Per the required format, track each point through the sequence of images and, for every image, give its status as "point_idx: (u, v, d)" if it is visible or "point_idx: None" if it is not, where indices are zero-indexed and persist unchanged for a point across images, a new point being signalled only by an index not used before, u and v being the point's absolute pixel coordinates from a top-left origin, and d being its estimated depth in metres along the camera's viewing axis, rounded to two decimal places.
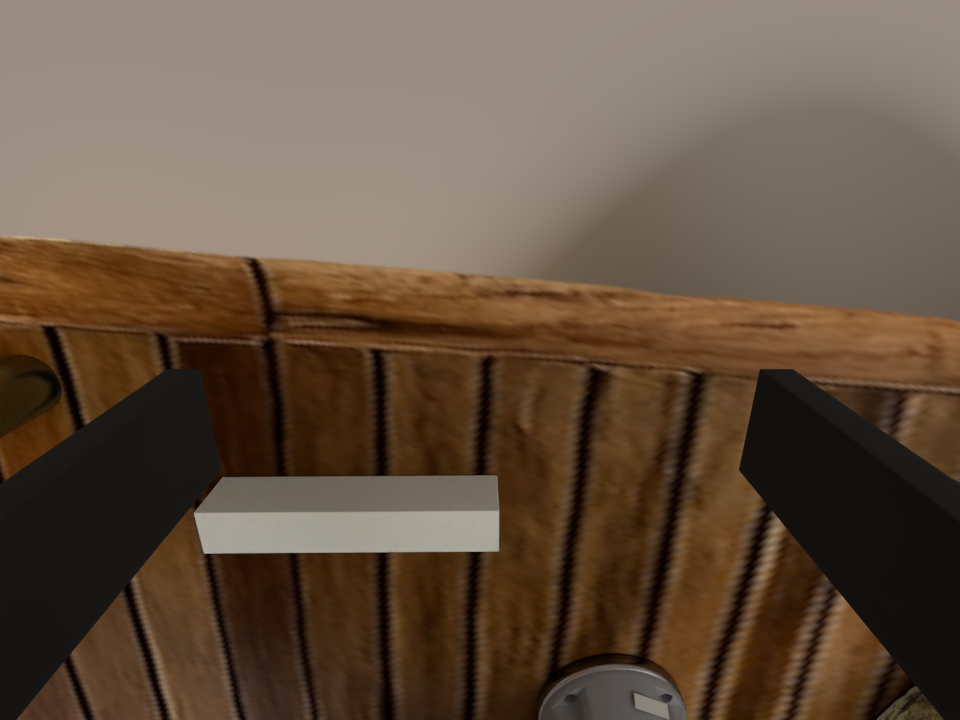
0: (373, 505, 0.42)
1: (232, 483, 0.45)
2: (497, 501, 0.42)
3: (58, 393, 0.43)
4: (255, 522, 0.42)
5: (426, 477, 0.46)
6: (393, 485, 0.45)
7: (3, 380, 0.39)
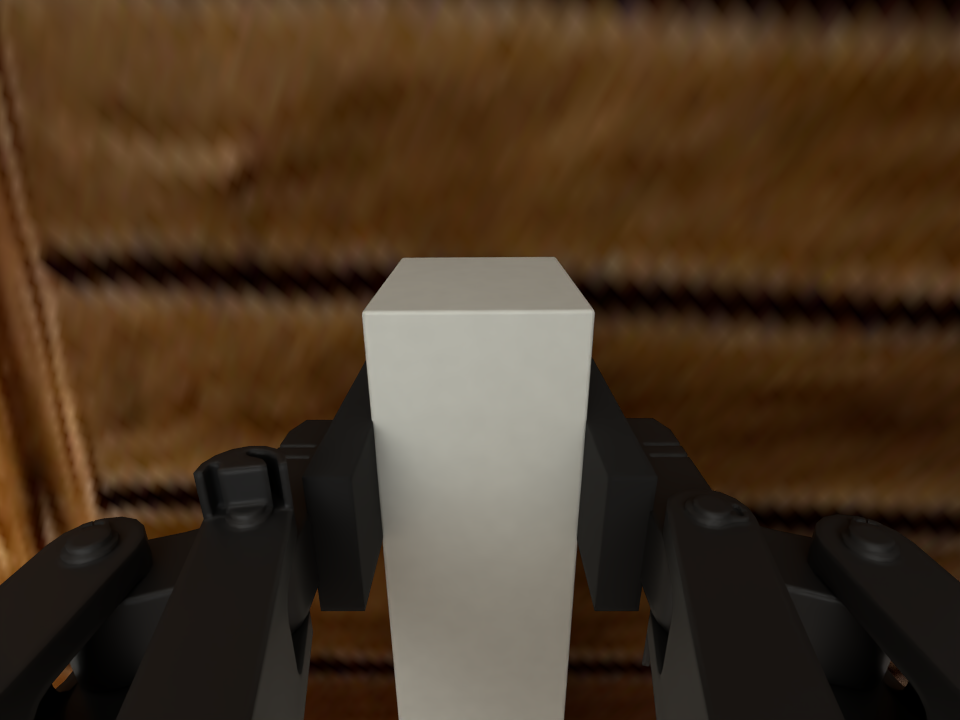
0: None
1: None
2: None
3: None
4: None
5: None
6: None
7: None
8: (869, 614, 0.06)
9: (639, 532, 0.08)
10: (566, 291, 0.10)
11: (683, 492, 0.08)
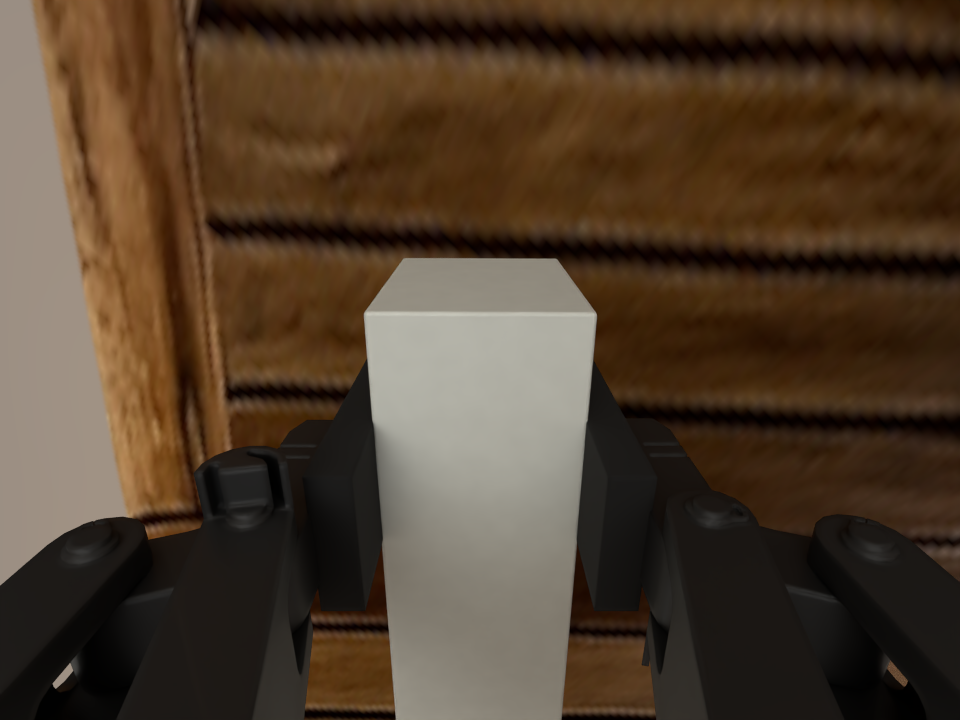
0: None
1: None
2: None
3: None
4: None
5: None
6: None
7: None
8: (869, 614, 0.06)
9: (639, 532, 0.08)
10: (568, 293, 0.10)
11: (683, 492, 0.08)
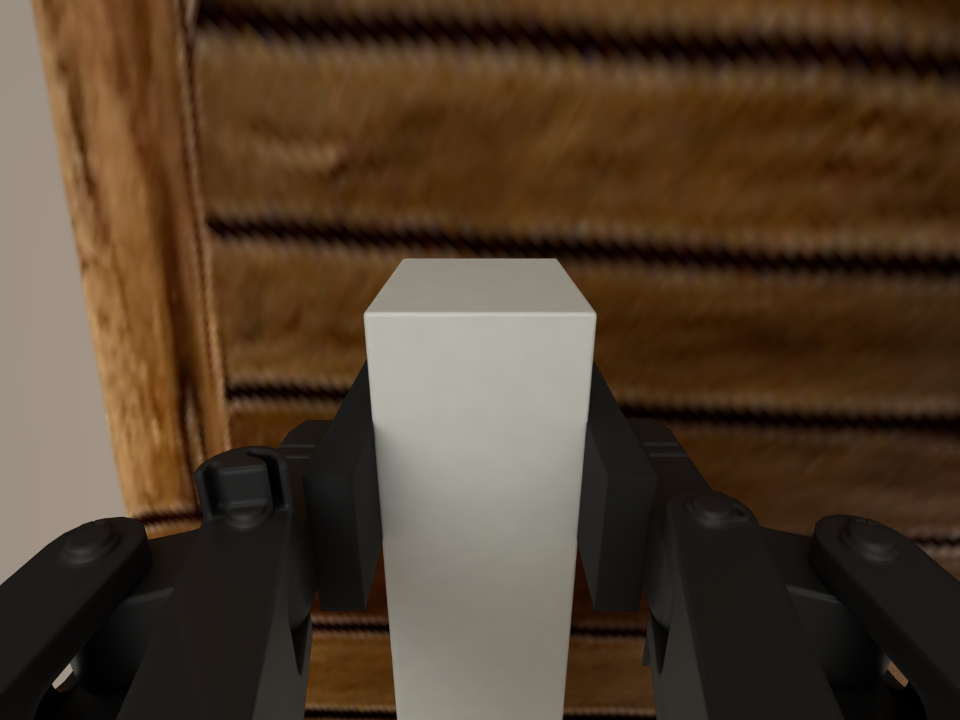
0: None
1: None
2: None
3: None
4: None
5: None
6: None
7: None
8: (869, 614, 0.06)
9: (639, 532, 0.08)
10: (568, 293, 0.10)
11: (683, 492, 0.08)
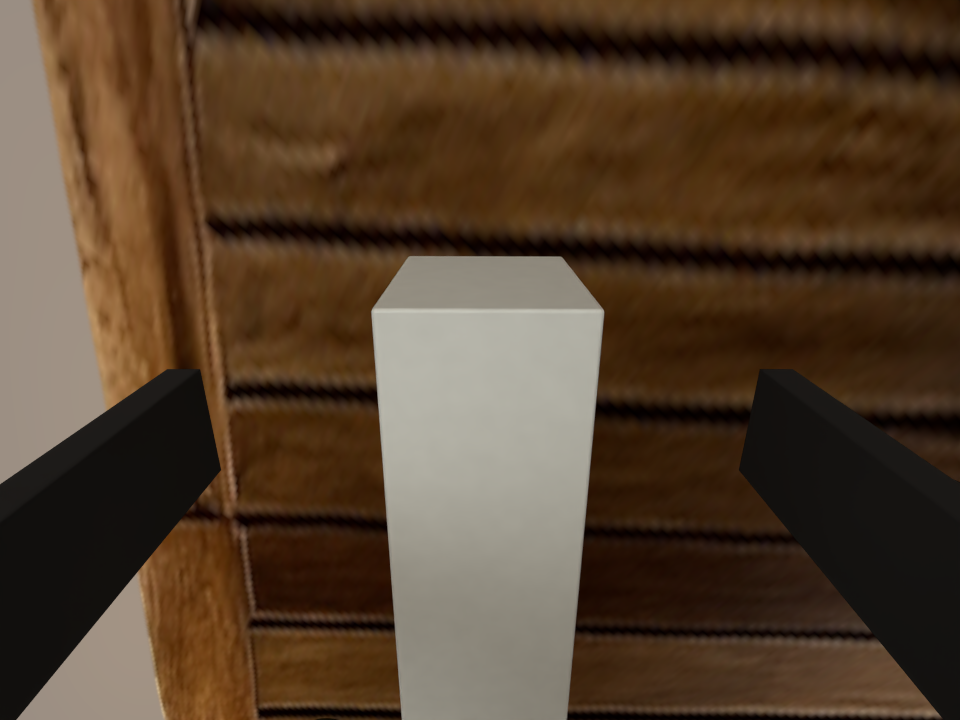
0: None
1: None
2: None
3: None
4: None
5: None
6: None
7: None
8: None
9: None
10: (575, 291, 0.10)
11: None
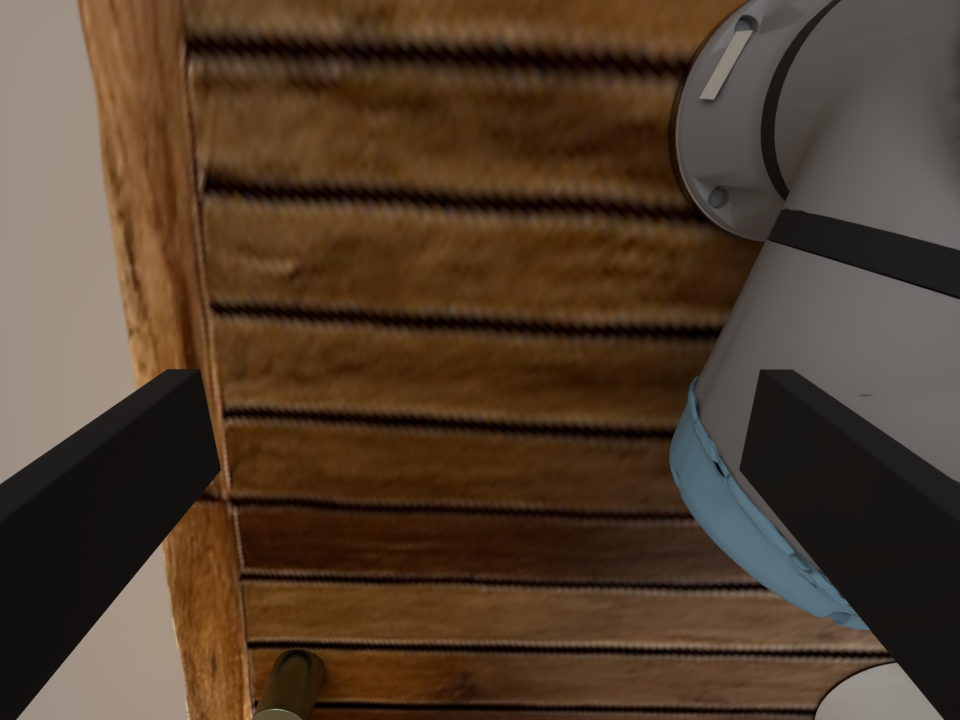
0: None
1: None
2: None
3: (303, 653, 0.52)
4: None
5: None
6: None
7: (264, 691, 0.49)
8: None
9: None
10: None
11: None
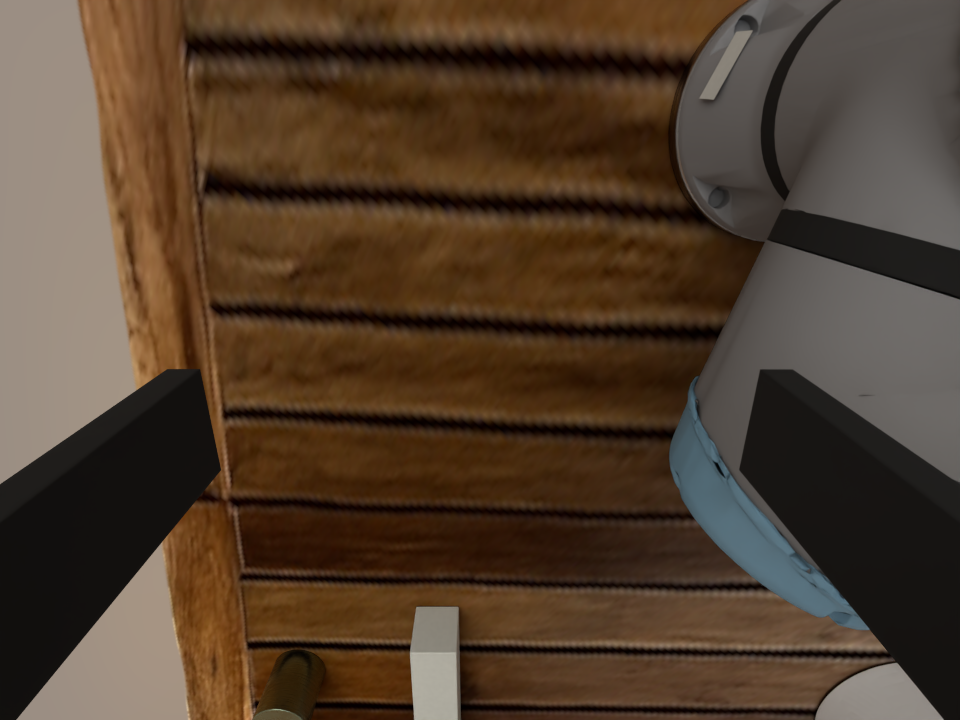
0: None
1: None
2: None
3: (303, 653, 0.52)
4: None
5: None
6: None
7: (265, 691, 0.49)
8: None
9: None
10: (453, 639, 0.46)
11: None
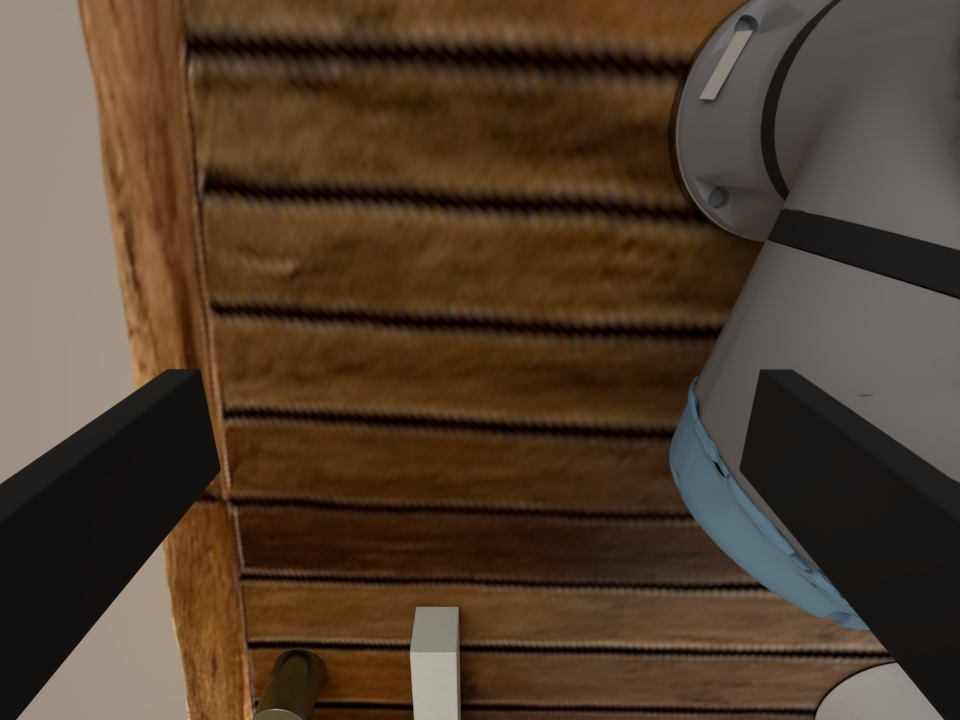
0: None
1: None
2: None
3: (303, 653, 0.52)
4: None
5: None
6: None
7: (265, 691, 0.49)
8: None
9: None
10: (453, 639, 0.46)
11: None
